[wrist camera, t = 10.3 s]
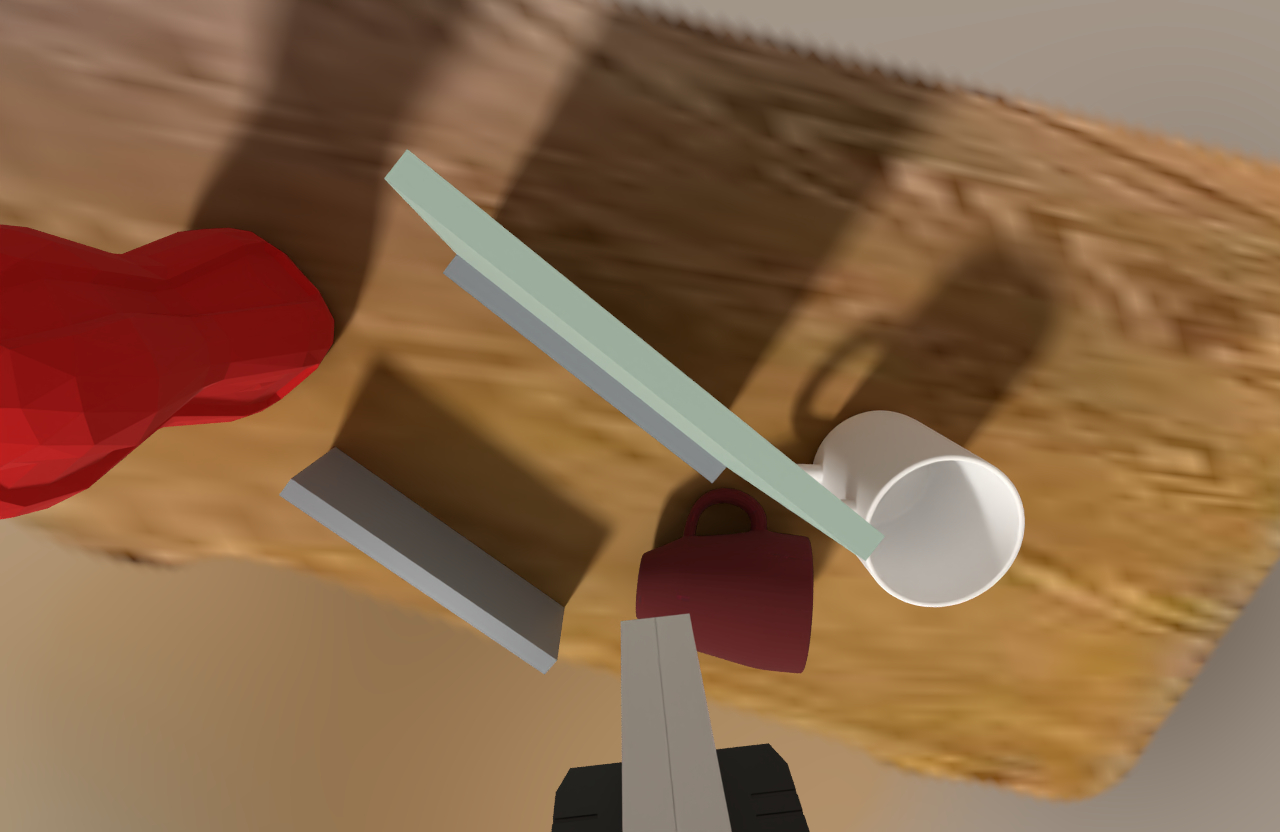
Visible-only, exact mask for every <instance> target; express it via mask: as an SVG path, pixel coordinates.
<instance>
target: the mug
mask: <svg viewBox="0 0 1280 832" xmlns="http://www.w3.org/2000/svg"><path fill="white" fill-rule="evenodd" d="M718 503H728V504H733V505H736V506H738V507H740V508H741V509H743V510H744V511H745V512H746V513H747V514H748V516H749V518H750V521H751V530H750V531H749V532H745V533H736V534H724V535H709V536H695V534H696V527H697V523H698V520H699V517H700V515H701V513H702V512H703V511H704V510H705V509H706V508H707V507H709V506H711V505H714V504H718ZM812 612H813V558H812V549H811V543H810V540H809V538H808V537H805V536H797V535H790V534H782V533H776V532H771V531H768V530H767V518H766V514H765V512H764V510H763V508H762V507H761V505H760V504H759V503H758V502H757V501H756V500H755V499H754V498H753V497H751V496H750V495H748V494H747V493H744V492H742V491H740V490H736V489H730V488H720V489H715V490H711V491H709V492H707V493H705V494H704V495H702V496H701V497H700V498H699V499H698V500H697V501H696V502H695V504H694V505H693V507H692V509H691V511H690V513H689V515H688V518H687V521H686V525H685V529H684V534H683V537H682V538H680V539H677V540H675V541H673V542H670V543H668V544H665V545H663V546H661V547H658V548H656V549H653V550H651V551H648V552H646V553H644V554H643V556H642V559H641V563H640V568H639V575H638V583H637V594H636V617H637V618H638V619H646V618H654V617H663V616H672V615H681V614H690V620H691V625H692V630H693V635H694V640H695V645H696V650H697V651H699V652H702V653H705V654H709V655H712V656H715V657H718V658H722V659H725V660H728V661H732V662H735V663H738V664H742V665H745V666H749V667H753V668H757V669H763V670H770V671H779V672H790V673H802V672H803V670H804V668H805V665H806V661H807V656H808V650H809V644H810V636H811V625H812Z"/></svg>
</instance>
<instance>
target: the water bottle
mask: <svg viewBox="0 0 1280 832" xmlns="http://www.w3.org/2000/svg"><path fill="white" fill-rule="evenodd" d="M333 338H334V319H333V317H332V315H331V313H330V311H329V309H328V307H327V305H326V303H325V301H324V300H323V298H322V296H321V294H320V292H319V290H318V289H317V288H316V287H315V286H314V285H313V284H312V283H311V282H310V281H309V280H308V279H307V277H306V276H305V275H304V274H303V273H302V272H301V271H300V270H299V269H298V268H297V266H296V265H295V264H294V263H293V262H292V261H291V259H290V258H289V257H288V256H287V255H286V254H285V253H283V252H282V251H280V250H279V249H277V248H276V247H274V246H273V245H271V244H270V243H268V242H266V241H265V240H263V239H262V238H260V237H259V236H257V235H256V234H254V233H253V232H250V231H245V230H239V229H233V228H213V229H199V230H191V231H183V232H177V233H175V234H172V235H169V236H167V237H164V238H162V239H159V240H157V241H154V242H152V243H149V244H146V245H144V246H141V247H139V248H136V249H134V250H131V251H129V252H126V253H124V254H112V253H109V252H106V251H102V250H99V249H96V248H93V247H89V246H86V245H83V244H80V243H76V242H73V241H70V240H67V239H64V238H60V237H57V236H54V235H51V234H47V233H44V232H41V231H38V230H34V229H31V228H28V227H20V226H10V225H0V519H6V518H12V517H16V516H20V515H24V514H28V513H31V512H35V511H39V510H43V509H47V508H49V507H51V506H53V505H55V504H57V503H59V502H61V501H63V500H65V499H67V498H69V497H71V496H73V495H75V494H77V493H79V492H81V491H84V490H86V489H88V488H89V487H90V486H91V485H93V484H94V483H95V482H96V481H97V480H99V479H100V478H101V477H102V476H103V475H104V474H106V473H107V472H108V471H109V470H110V469H112V468H113V467H114V466H115V465H116V464H118V463H119V462H120V461H121V460H122V459H123V458H125V457H126V456H127V455H128V454H129V453H131V452H132V451H133V450H134V449H135V448H137V447H138V446H139V445H140V444H141V443H142V442H144V441H145V440H146V439H147V438H148V437H150V436H151V435H152V434H153V433H154V432H155V431H157V430H158V429H160V428H162V427H169V426H182V425H195V424H207V423H220V422H231V421H234V420H237V419H240V418H243V417H246V416H249V415H252V414H255V413H258V412H261V411H263V410H264V409H266V408H268V407H269V406H271V405H273V404H274V403H276V402H277V401H279V400H281V399H282V398H283V397H284V396H286V395H287V394H288V393H289V392H290V391H291V390H293V389H294V388H295V387H296V386H297V385H298V384H300V383H301V382H302V381H303V380H304V379H305V378H306V377H308V376H309V375H310V374H311V373H312V372H313V371H315V370H316V369H317V368H318V366H319V364H320V363H321V361H322V360H323V358H324V357H325V355H326V353H327V352H328V350H329V349H330V347H331V346H332V344H333Z"/></svg>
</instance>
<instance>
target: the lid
mask: <svg viewBox="0 0 1280 832" xmlns="http://www.w3.org/2000/svg"><path fill="white" fill-rule="evenodd" d="M384 179H385V180H386V181H387V182H388V183H389V184H390V185H391V186H392V187H393V188H394V189H395V190H396V191H397V192H398V193H399V195H400V196H401V197H402V198H403V199H404V200H405V201H406V202H407V203H408V204H409V205H410V206H411V207H412V208H413V209H414V210H415V211H416V212H417V213H418V214H419V215H420V216H421V217H422V218H423V219H424V220H425V222H426V223H427V224H428V225H429V226H430V227H431V228H432V229H433V230H434V231H435V232H436V233H437V234H438V235H439V236H440V237H441V238H442V239H443V240H444V241H445V242H446V243H447V244H448V245H449V246H450V248H451V249H452V250H453V251H454V252H455V253H456V254H457V255H459V256H460V257H461V258H462V259H464V260H465V261H466V262H467V263H469V264H470V265H471V266H473V267H474V268H475V269H476V270H478V271H479V272H480V273H481V274H483V275H484V276H485V277H486V278H488V279H489V280H490V281H492V282H493V283H494V284H495V285H497V286H498V287H499V288H500V289H502V290H503V291H504V292H505V293H507V294H508V295H509V296H511V297H512V298H513V299H514V300H516V301H517V302H518V303H519V304H521V305H522V306H523V307H524V308H526V309H527V310H528V311H530V312H531V313H532V314H533V315H535V316H536V317H537V318H538V319H540V320H541V321H542V322H543V323H545V324H546V325H547V326H549V327H550V328H551V329H552V330H554V331H555V332H556V333H557V334H559V335H560V336H561V337H562V338H564V339H565V340H566V341H568V342H569V343H570V344H571V345H573V346H574V347H575V348H576V349H578V350H579V351H580V352H581V353H583V354H584V355H585V356H587V357H588V358H589V359H590V360H592V361H593V362H594V363H595V364H597V365H598V366H599V367H600V368H602V369H603V370H604V371H606V372H607V373H608V374H609V375H611V376H612V377H613V378H614V379H616V380H617V381H618V382H619V383H621V384H622V385H623V386H625V387H626V388H627V389H628V390H630V391H631V392H632V393H633V394H635V395H636V396H637V397H638V398H640V399H641V400H642V401H644V402H645V403H646V404H647V405H649V406H650V407H651V408H652V409H654V410H655V411H656V412H657V413H659V414H660V415H661V416H663V417H664V418H665V419H666V420H668V421H669V422H670V423H671V424H673V425H674V426H675V427H676V428H678V429H679V430H680V431H682V432H683V433H684V434H685V435H687V436H688V437H689V438H690V439H692V440H693V441H694V442H695V443H697V444H698V445H699V446H701V447H702V448H703V449H704V450H706V451H707V452H708V453H709V454H711V455H712V456H713V457H714V458H716V459H717V460H718V461H720V462H721V463H722V464H723V465H725V466H726V467H727V468H729V469H730V470H732V471H733V472H735V473H736V474H738V475H739V476H741V477H742V478H743V479H745V480H746V481H748V482H749V483H751V484H752V485H754V486H755V487H757V488H758V489H760V490H761V491H763V492H764V493H766V494H767V495H769V496H770V497H771V498H773V499H774V500H776V501H777V502H779V503H780V504H782V505H783V506H785V507H786V508H788V509H789V510H791V511H792V512H794V513H795V514H797V515H798V516H799V517H801V518H802V519H804V520H805V521H807V522H808V523H810V524H811V525H813V526H814V527H816V528H817V529H819V530H820V531H822V532H823V533H825V534H826V535H828V536H829V537H830V538H832V539H833V540H835V541H836V542H838V543H839V544H841V545H842V546H844V547H845V548H847V549H848V550H850V551H851V552H853V553H854V554H856V555H857V556H858V557H860V558H861V559H863V560H864V561H866V560H867V559H868V557H869V556H870V555H871V554H872V552H873V551H874V550H875V548H876V547H877V546H878V545H879V543H880V542H881V541H882V540H883V538H884V537H885V536H884V535H883V534H882V533H880V532H879V531H878V530H877V529H876V528H874V527H873V526H872V525H871V524H869V523H868V522H867V521H866V520H864V519H863V518H862V517H861V516H860V515H858V514H857V513H856V512H855V511H853V510H852V509H851V508H850V507H848V506H847V505H846V504H845V503H843V502H842V501H841V500H840V499H839V498H837V497H836V496H835V495H834V494H832V493H831V492H830V491H829V490H827V489H826V488H825V487H824V486H822V485H821V484H820V483H819V482H818V481H816V480H815V479H814V478H813V477H811V476H810V475H809V474H808V473H806V472H805V471H804V470H803V469H801V468H800V467H799V466H798V465H797V464H795V463H794V462H793V461H792V460H790V459H789V458H788V457H787V456H785V455H784V454H783V453H782V452H780V451H779V450H778V449H777V448H776V447H774V446H773V445H772V444H771V443H769V442H768V441H767V440H766V439H764V438H763V437H762V436H761V435H759V434H758V433H757V432H756V431H755V430H753V429H752V428H751V427H750V426H748V425H747V424H746V423H745V422H743V421H742V420H741V419H740V418H739V417H737V416H736V415H735V414H734V413H732V412H731V411H730V410H729V409H727V408H726V407H725V406H724V405H722V404H721V403H720V402H719V401H718V400H716V399H715V398H714V397H713V396H711V395H710V394H709V393H708V392H706V391H705V390H704V389H703V388H701V387H700V386H699V385H698V384H697V383H695V382H694V381H693V380H692V379H690V378H689V377H688V376H687V375H685V374H684V373H683V372H682V371H680V370H679V369H678V368H677V367H676V366H674V365H673V364H672V363H671V362H669V361H668V360H667V359H666V358H664V357H663V356H662V355H661V354H659V353H658V352H657V351H656V350H655V349H653V348H652V347H651V346H650V345H648V344H647V343H646V342H645V341H643V340H642V339H641V338H640V337H638V336H637V335H636V334H635V333H634V332H632V331H631V330H630V329H629V328H627V327H626V326H625V325H624V324H622V323H621V322H620V321H619V320H618V319H616V318H615V317H614V316H613V315H611V314H610V313H609V312H608V311H606V310H605V309H604V308H603V307H601V306H600V305H599V304H598V303H597V302H595V301H594V300H593V299H592V298H590V297H589V296H588V295H587V294H585V293H584V292H583V291H582V290H580V289H579V288H578V287H577V286H576V285H574V284H573V283H572V282H571V281H569V280H568V279H567V278H566V277H564V276H563V275H562V274H561V273H559V272H558V271H557V270H556V269H555V268H553V267H552V266H551V265H550V264H548V263H547V262H546V261H545V260H543V259H542V258H541V257H540V256H538V255H537V254H536V253H535V252H534V251H532V250H531V249H530V248H529V247H527V246H526V245H525V244H524V243H522V242H521V241H520V240H519V239H517V238H516V237H515V236H514V235H513V234H511V233H510V232H509V231H508V230H506V229H505V228H504V227H503V226H501V225H500V224H499V223H498V222H496V221H495V220H494V219H493V218H492V217H490V216H489V215H488V214H487V213H485V212H484V211H483V210H482V209H480V208H479V207H478V206H477V205H476V204H474V203H473V202H472V201H471V200H469V199H468V198H467V197H466V196H464V195H463V194H462V193H461V192H459V191H458V190H457V189H456V188H455V187H453V186H452V185H451V184H450V183H448V182H447V181H446V180H445V179H443V178H442V177H441V176H440V175H438V174H437V173H436V172H435V171H434V170H432V169H431V168H430V167H429V166H427V165H426V164H425V163H424V162H422V161H421V160H420V159H419V158H417V157H416V156H415V155H414V154H413V153H411V152H410V151H409V150H408V149H407V150H406V151H405V153H404V154H403V155H402V157H401V158H400V159H399V160H398V162H397V163H396V164H395V165H394V167H393V168H392V169H391V171H390V172H389V173H388V174H387V176H386V177H385V178H384Z"/></svg>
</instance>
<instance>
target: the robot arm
mask: <svg viewBox="0 0 1280 832" xmlns="http://www.w3.org/2000/svg"><path fill="white" fill-rule="evenodd" d="M621 694H622V695H621V697H622V698H621V699H622V705H621V706H622V762H620V763H612V764H603V765H595V766H586V767H577V768H570V769H569V771H568V773H567V775H566V776H565V778H564V780H563V781H562V783H561V785H560V786H559V788H558V790H557V791H556V796H555V805H554V814H553V824H552V832H809V828H808V826H807V823H806V819H805V816H804V815H803V812H802V807H801V804H800V801H799V798H798V795H797V794H796V789H795V785H794V782H793V780H792V776H791V774H790V770H789V767H788V764H787V763H786V762H785V761H784V760H783V758H782V757H781V756H780V755H779V754H778V753H777V752H776V751H775V750H774V749H773V748H772V747H771V745H770V744H760V745H751V746H743V747H734V748H725V749H716V748H715V743H714V738H713V734H712V728H711V723H710V717H709V712H708V707H707V702H706V697H705V692H704V687H703V681H702V676H701V671H700V666H699V661H698V656H697V650H696V645H695V640H694V635H693V630H692V625H691V620H690V614H681V615H672V616H663V617H654V618H646V619H637V620H628V621H621Z"/></svg>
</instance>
